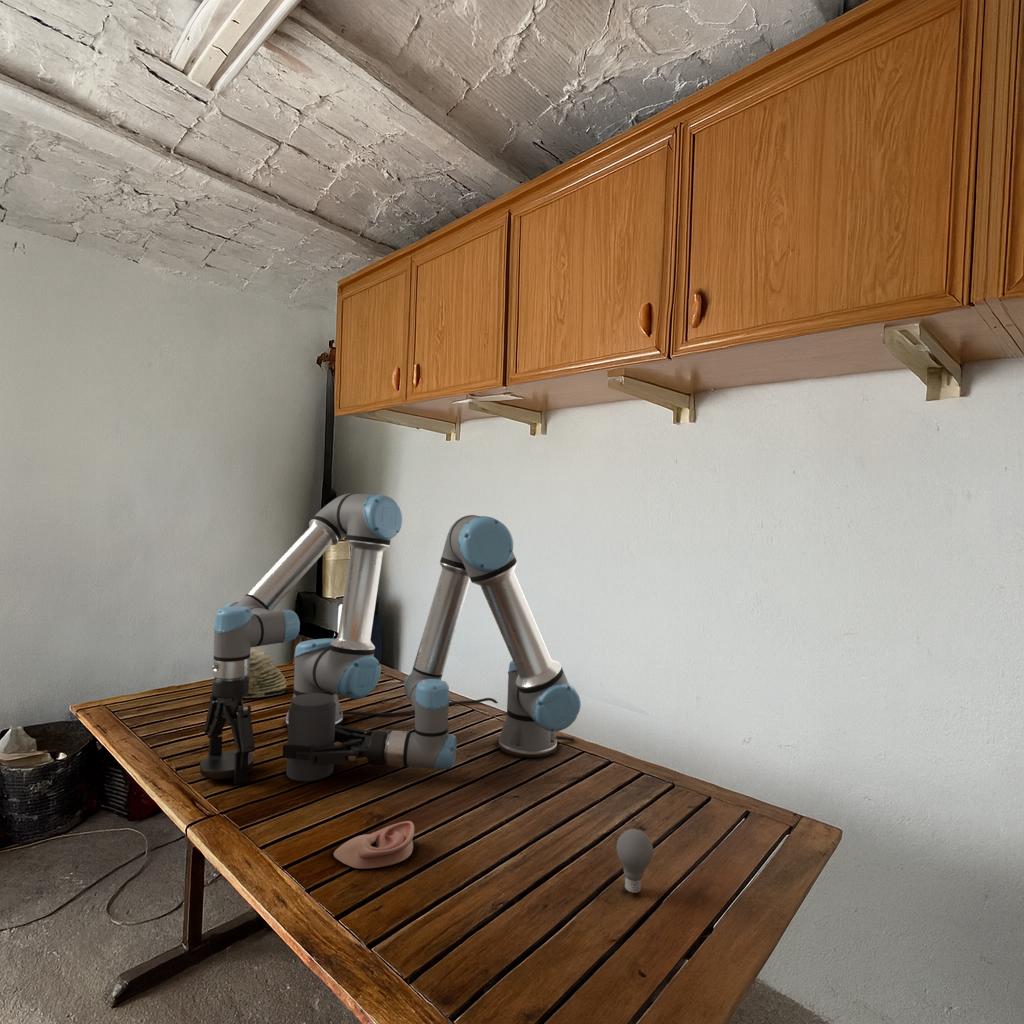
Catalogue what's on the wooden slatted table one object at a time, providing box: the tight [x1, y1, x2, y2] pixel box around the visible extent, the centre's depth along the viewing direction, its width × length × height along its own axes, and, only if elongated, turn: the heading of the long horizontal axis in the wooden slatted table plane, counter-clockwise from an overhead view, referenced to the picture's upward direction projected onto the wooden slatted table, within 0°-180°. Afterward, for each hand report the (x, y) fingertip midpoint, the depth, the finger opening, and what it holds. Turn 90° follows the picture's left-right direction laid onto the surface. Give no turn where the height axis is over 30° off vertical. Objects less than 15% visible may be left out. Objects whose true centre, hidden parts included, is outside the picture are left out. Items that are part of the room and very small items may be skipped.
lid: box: [199, 750, 255, 780], centre depth 142 cm, size 11×11×2 cm
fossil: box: [242, 647, 288, 699], centre depth 198 cm, size 9×18×15 cm, turn 132°
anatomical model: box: [333, 820, 415, 870], centre depth 114 cm, size 13×4×12 cm
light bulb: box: [615, 828, 654, 894], centre depth 106 cm, size 6×6×10 cm
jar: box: [285, 693, 336, 782], centre depth 146 cm, size 10×10×17 cm
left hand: (227, 774), depth 142 cm, fingers closed on lid, 11 cm apart
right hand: (293, 741), depth 146 cm, fingers closed on jar, 10 cm apart
